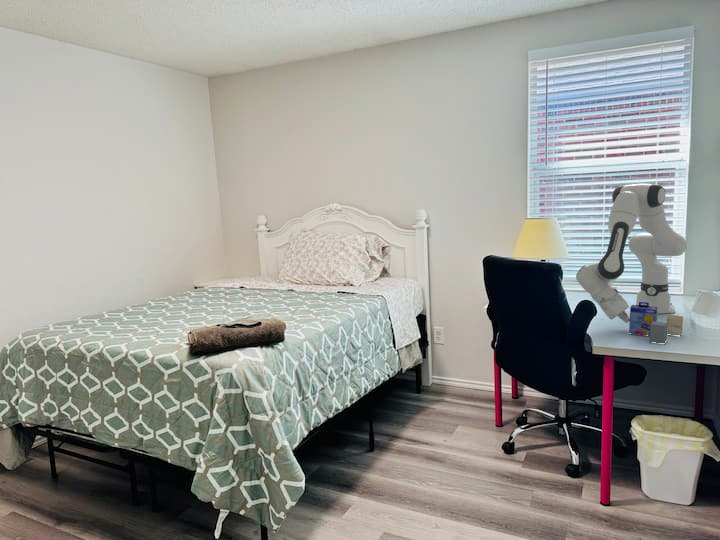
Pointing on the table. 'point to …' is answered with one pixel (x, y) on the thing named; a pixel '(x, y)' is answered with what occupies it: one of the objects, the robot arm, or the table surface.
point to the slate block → (658, 332)
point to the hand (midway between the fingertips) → (628, 321)
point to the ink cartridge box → (642, 318)
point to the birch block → (674, 324)
